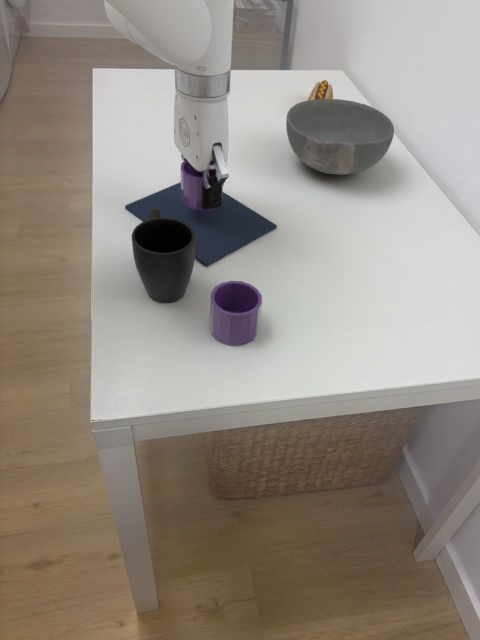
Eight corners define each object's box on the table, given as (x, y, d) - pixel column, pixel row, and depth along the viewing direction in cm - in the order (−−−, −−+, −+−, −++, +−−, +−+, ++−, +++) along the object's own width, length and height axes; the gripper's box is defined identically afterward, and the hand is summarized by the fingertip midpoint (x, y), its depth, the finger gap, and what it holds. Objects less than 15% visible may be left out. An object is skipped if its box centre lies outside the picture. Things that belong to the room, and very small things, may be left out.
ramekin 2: (199, 326, 71) (199, 295, 67) (234, 304, 75) (236, 274, 71) (233, 353, 69) (236, 323, 65) (267, 329, 72) (272, 299, 68)
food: (310, 97, 126) (313, 75, 123) (333, 101, 126) (337, 79, 122) (302, 121, 117) (305, 98, 113) (326, 126, 117) (330, 103, 113)
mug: (185, 253, 82) (184, 199, 75) (200, 305, 74) (200, 251, 67) (131, 258, 80) (124, 203, 73) (141, 313, 72) (135, 257, 65)
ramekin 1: (173, 197, 85) (171, 165, 81) (203, 184, 89) (203, 152, 85) (200, 215, 83) (200, 183, 79) (230, 201, 86) (232, 169, 82)
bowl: (386, 155, 110) (400, 106, 103) (375, 204, 97) (390, 153, 89) (293, 134, 112) (300, 86, 105) (269, 180, 99) (275, 128, 91)
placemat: (125, 208, 88) (124, 205, 88) (196, 178, 97) (196, 175, 96) (206, 267, 80) (206, 263, 80) (276, 228, 89) (276, 225, 88)
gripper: (153, 58, 75) (159, 172, 89) (204, 110, 66) (202, 229, 79) (201, 54, 78) (200, 165, 91) (256, 103, 69) (246, 219, 82)
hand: (201, 194), depth 85 cm, fingers closed on ramekin 1, 6 cm apart
